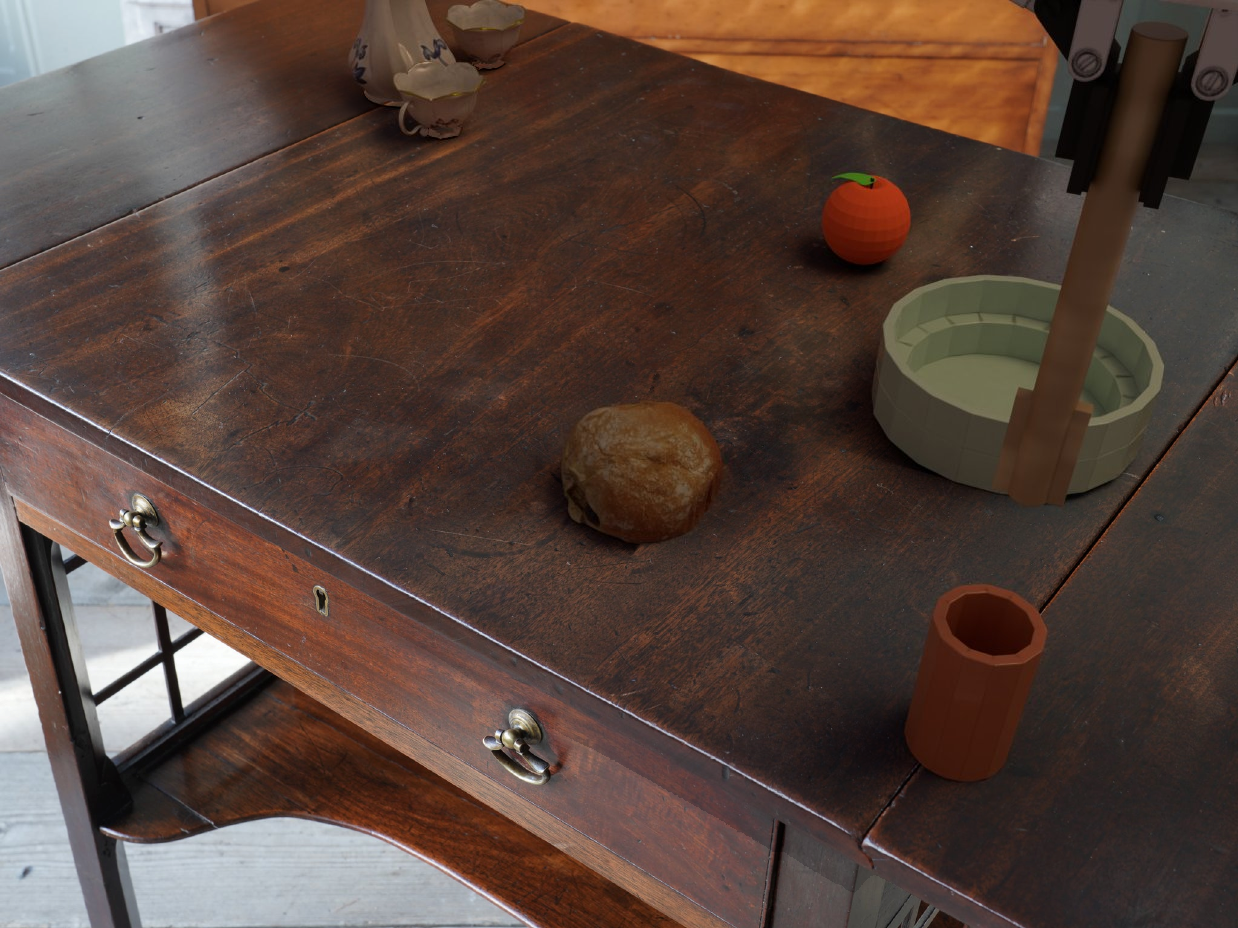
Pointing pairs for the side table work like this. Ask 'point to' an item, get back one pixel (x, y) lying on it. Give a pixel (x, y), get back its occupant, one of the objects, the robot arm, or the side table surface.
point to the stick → (1090, 276)
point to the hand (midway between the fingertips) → (1116, 182)
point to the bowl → (1002, 378)
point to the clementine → (865, 219)
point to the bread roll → (641, 471)
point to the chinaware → (430, 57)
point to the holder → (973, 681)
